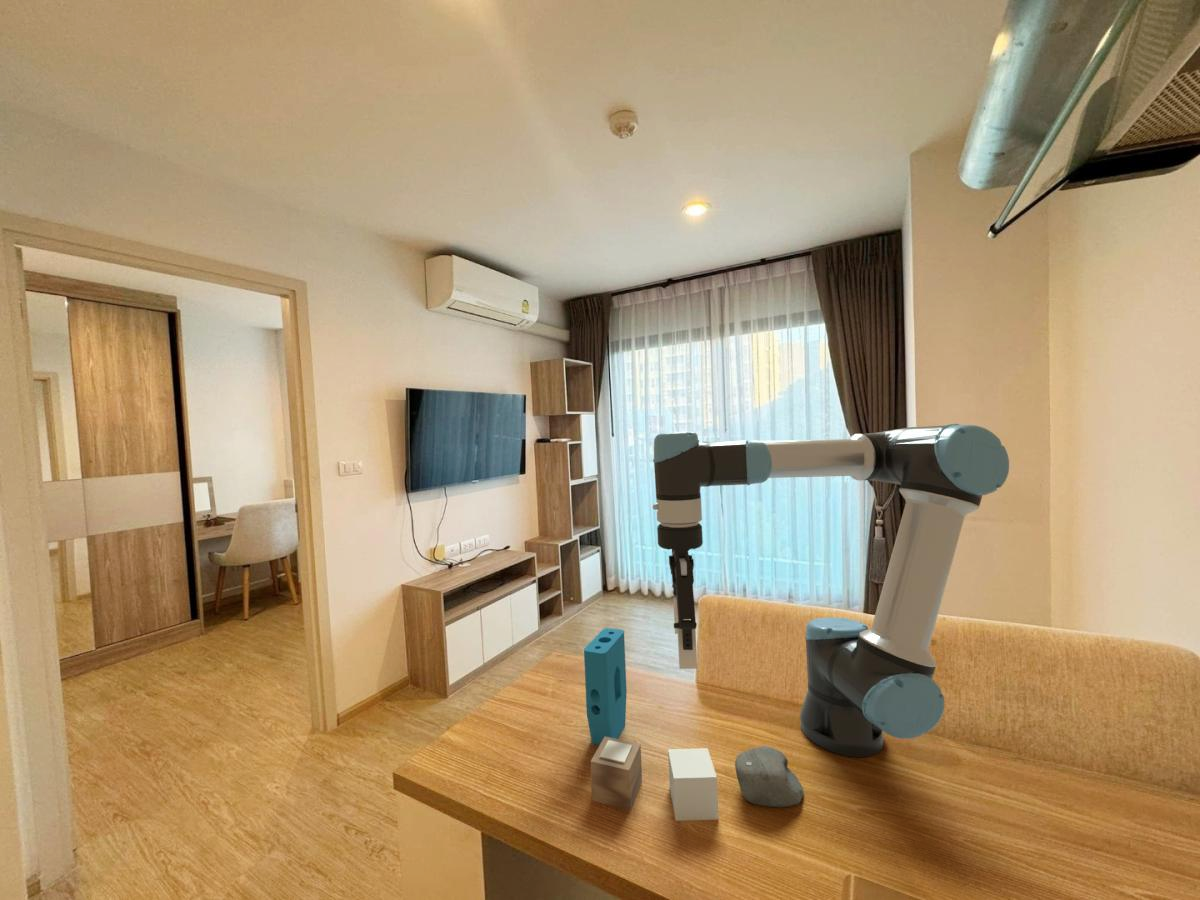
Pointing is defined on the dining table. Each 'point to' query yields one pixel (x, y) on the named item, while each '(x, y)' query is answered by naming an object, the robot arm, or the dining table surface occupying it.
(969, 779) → the dining table surface
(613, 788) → the marked block
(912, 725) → the robot arm
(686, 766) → the plain block
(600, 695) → the block
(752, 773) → the stone
